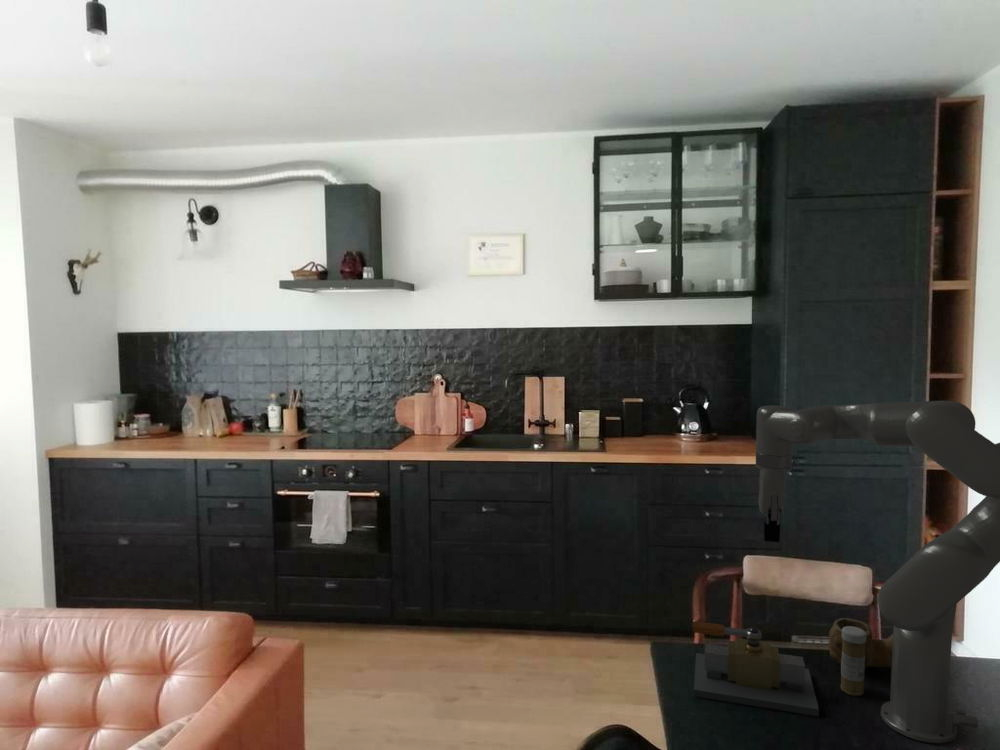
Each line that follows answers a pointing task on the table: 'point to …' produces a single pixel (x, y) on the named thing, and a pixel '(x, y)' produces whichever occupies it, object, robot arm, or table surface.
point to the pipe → (875, 649)
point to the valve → (754, 665)
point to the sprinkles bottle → (853, 660)
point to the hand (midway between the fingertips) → (771, 540)
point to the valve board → (755, 692)
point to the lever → (726, 630)
